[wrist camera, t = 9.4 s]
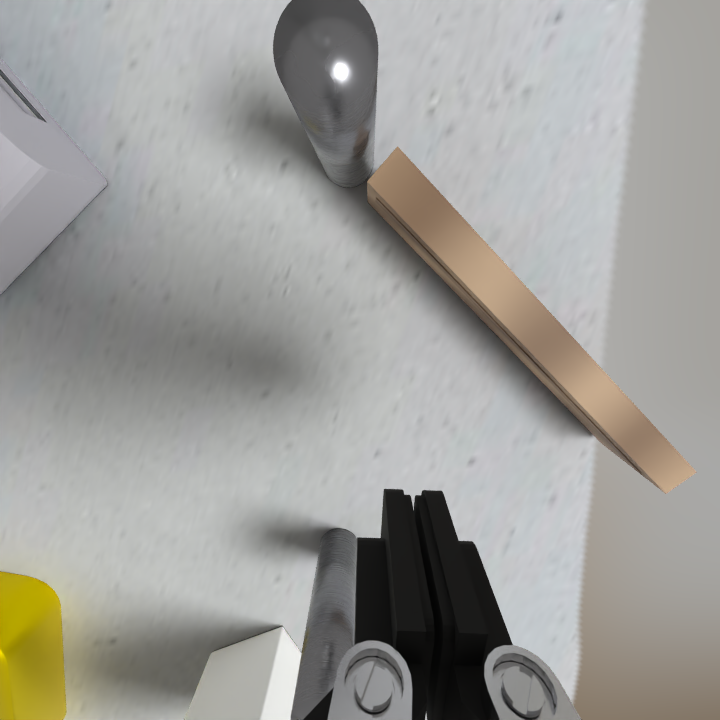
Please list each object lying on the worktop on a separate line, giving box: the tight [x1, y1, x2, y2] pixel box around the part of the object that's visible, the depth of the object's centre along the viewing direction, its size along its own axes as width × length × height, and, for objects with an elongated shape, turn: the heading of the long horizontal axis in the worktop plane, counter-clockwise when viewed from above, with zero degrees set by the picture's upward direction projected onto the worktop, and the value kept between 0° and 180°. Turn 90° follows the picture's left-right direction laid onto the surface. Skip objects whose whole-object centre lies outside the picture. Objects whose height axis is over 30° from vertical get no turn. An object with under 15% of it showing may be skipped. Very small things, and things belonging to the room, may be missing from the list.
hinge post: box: [273, 0, 378, 188], centre depth 12 cm, size 2×2×9 cm
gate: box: [367, 147, 696, 494], centre depth 16 cm, size 18×2×4 cm, turn 46°
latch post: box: [291, 529, 357, 720], centre depth 18 cm, size 2×2×9 cm
